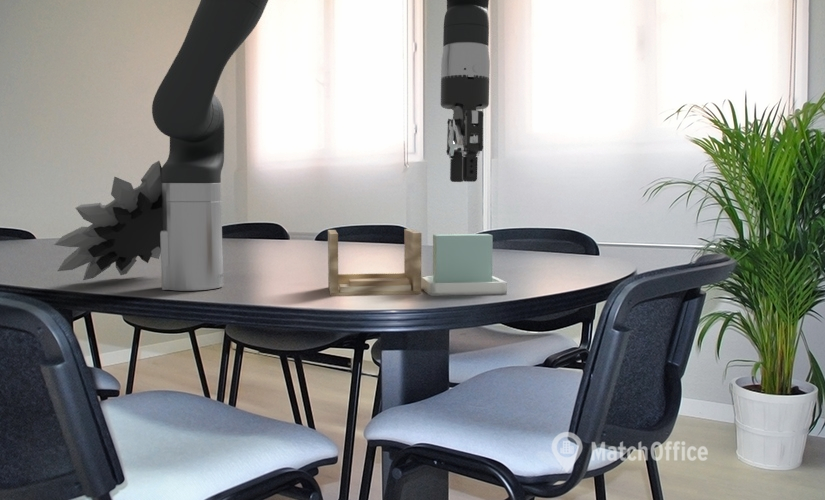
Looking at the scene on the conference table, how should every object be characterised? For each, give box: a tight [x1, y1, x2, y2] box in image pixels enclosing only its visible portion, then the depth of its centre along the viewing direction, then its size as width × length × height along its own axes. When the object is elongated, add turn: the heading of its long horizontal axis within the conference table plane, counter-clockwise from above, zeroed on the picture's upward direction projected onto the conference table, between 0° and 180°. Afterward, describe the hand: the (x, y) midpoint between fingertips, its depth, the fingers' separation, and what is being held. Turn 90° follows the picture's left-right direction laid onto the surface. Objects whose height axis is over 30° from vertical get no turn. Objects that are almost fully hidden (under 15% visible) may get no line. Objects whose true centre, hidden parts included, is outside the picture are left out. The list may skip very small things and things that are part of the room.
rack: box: [327, 228, 422, 297], centre depth 108 cm, size 14×10×10 cm
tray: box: [421, 275, 508, 297], centre depth 107 cm, size 12×9×2 cm
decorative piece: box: [53, 160, 163, 281], centre depth 117 cm, size 30×4×30 cm
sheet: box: [432, 233, 494, 283], centre depth 107 cm, size 9×3×8 cm, turn 99°
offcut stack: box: [339, 278, 411, 292], centre depth 105 cm, size 11×3×2 cm, turn 99°
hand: (463, 181), depth 106 cm, fingers open, 8 cm apart
